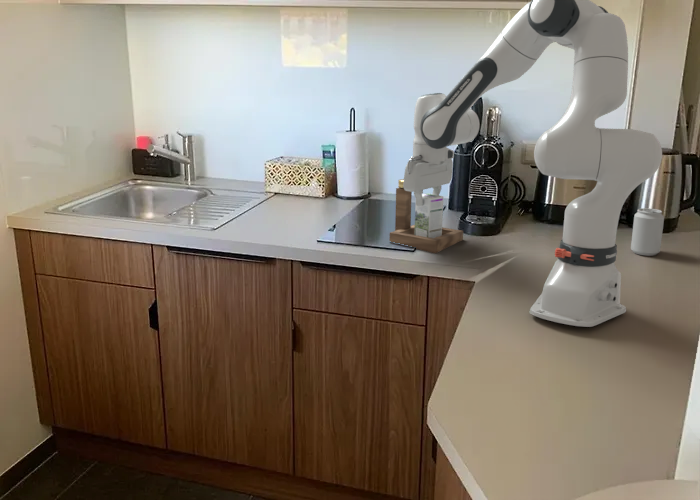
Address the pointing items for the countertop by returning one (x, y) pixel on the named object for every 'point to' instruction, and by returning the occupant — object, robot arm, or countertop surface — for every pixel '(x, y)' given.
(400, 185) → the bar
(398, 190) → the holder
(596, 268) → the robot arm
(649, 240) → the can
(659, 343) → the countertop surface
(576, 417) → the countertop surface
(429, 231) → the syrup box
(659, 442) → the countertop surface
